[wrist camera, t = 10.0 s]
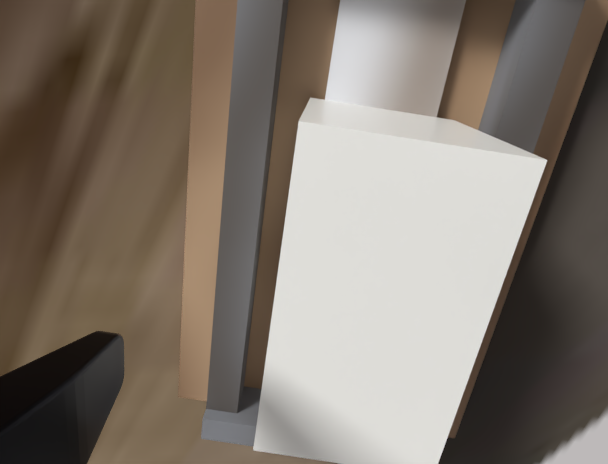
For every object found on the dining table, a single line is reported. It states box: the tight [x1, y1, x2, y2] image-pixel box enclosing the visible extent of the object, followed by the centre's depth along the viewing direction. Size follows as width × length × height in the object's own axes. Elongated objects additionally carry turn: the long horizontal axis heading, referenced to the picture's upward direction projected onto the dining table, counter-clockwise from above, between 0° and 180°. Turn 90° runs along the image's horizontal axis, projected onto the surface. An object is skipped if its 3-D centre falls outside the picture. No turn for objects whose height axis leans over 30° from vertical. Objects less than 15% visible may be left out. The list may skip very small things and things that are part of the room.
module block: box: [253, 97, 547, 464], centre depth 12 cm, size 4×8×6 cm, turn 171°
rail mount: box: [178, 0, 608, 446], centre depth 15 cm, size 12×18×3 cm, turn 171°
